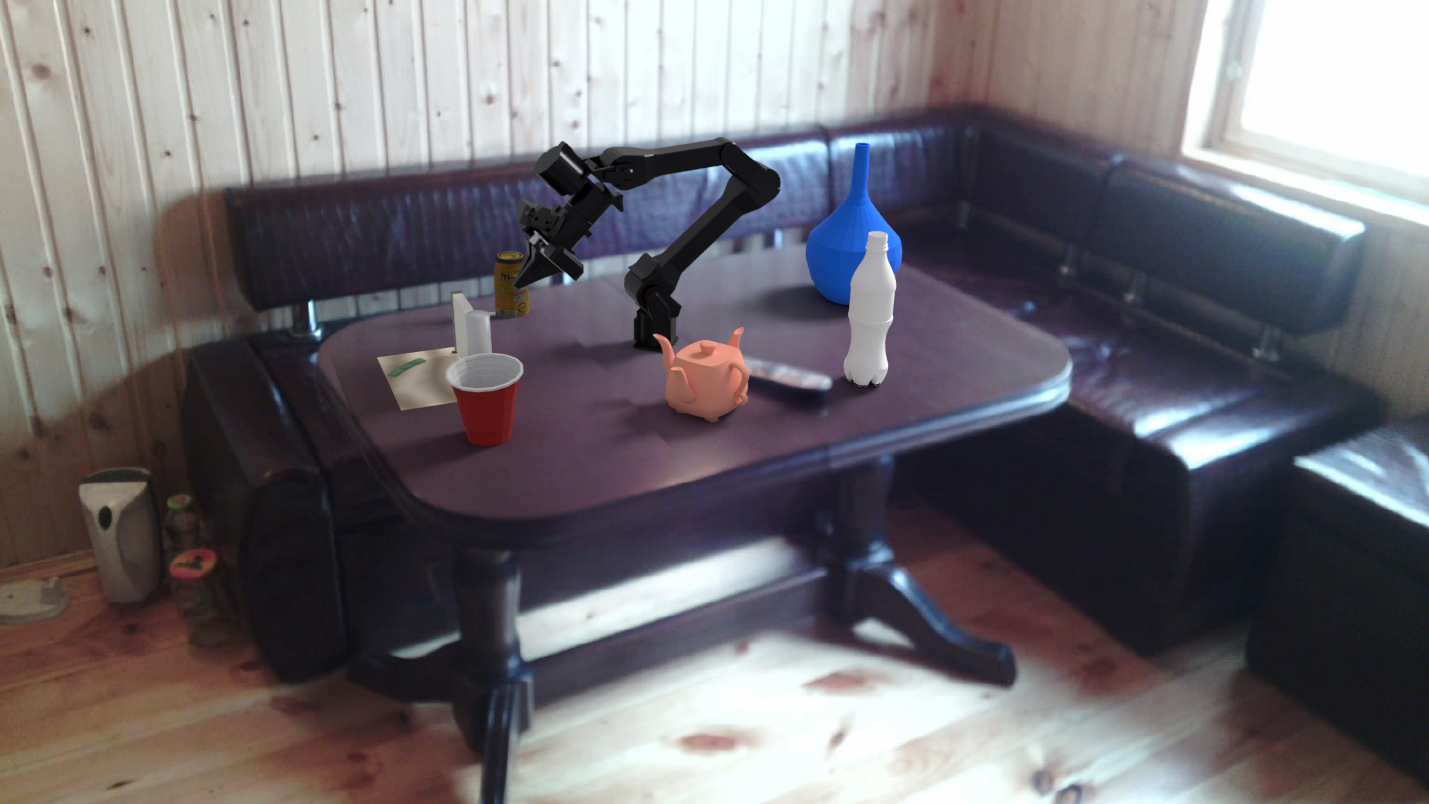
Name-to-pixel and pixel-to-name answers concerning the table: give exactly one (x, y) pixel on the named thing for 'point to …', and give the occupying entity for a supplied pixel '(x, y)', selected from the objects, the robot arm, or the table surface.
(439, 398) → the board
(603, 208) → the robot arm
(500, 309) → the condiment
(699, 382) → the teapot
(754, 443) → the table surface
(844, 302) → the vase
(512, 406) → the plastic cup
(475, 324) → the white panel grey edge
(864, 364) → the water bottle
